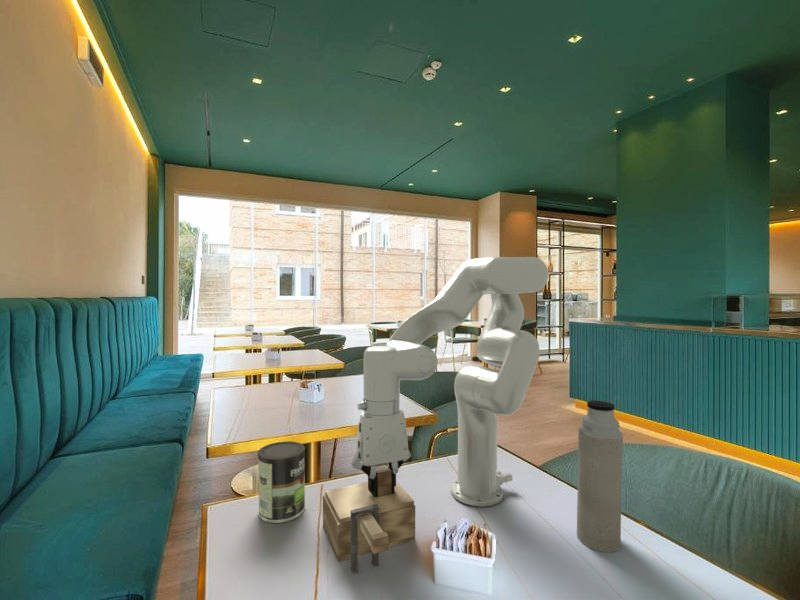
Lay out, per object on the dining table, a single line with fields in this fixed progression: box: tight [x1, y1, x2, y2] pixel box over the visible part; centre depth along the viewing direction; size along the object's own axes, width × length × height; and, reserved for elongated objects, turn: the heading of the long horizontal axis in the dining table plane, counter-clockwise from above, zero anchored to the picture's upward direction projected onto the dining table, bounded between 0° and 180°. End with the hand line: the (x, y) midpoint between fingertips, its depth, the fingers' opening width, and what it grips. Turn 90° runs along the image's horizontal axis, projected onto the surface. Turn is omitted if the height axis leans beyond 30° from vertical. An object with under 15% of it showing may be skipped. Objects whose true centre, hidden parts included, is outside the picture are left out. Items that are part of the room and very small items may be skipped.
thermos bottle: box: [576, 400, 624, 553], centre depth 81 cm, size 8×8×28 cm
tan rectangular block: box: [358, 513, 389, 554], centre depth 70 cm, size 3×9×2 cm, turn 24°
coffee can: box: [257, 440, 306, 524], centre depth 92 cm, size 10×10×14 cm
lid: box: [324, 464, 415, 523], centre depth 83 cm, size 15×11×7 cm
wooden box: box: [322, 493, 416, 574], centre depth 81 cm, size 16×16×11 cm
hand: (382, 491), depth 84 cm, fingers closed on lid, 3 cm apart
